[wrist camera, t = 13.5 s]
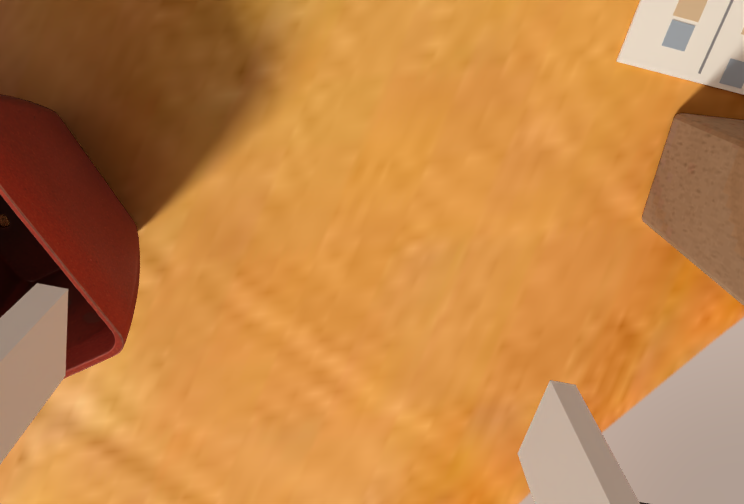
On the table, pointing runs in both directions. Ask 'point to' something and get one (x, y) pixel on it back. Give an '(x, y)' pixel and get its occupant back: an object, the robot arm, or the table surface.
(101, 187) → the plant pot
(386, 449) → the table surface
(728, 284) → the wooden block
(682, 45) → the page
